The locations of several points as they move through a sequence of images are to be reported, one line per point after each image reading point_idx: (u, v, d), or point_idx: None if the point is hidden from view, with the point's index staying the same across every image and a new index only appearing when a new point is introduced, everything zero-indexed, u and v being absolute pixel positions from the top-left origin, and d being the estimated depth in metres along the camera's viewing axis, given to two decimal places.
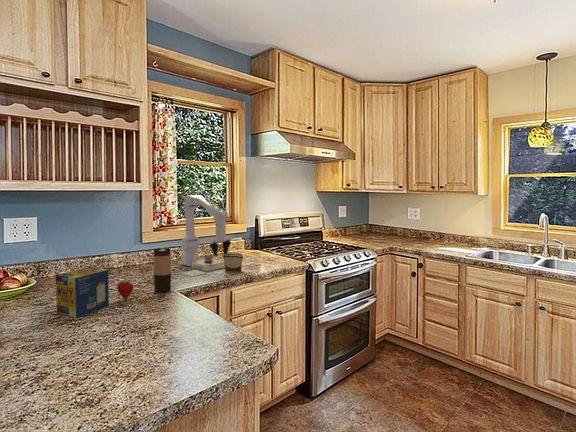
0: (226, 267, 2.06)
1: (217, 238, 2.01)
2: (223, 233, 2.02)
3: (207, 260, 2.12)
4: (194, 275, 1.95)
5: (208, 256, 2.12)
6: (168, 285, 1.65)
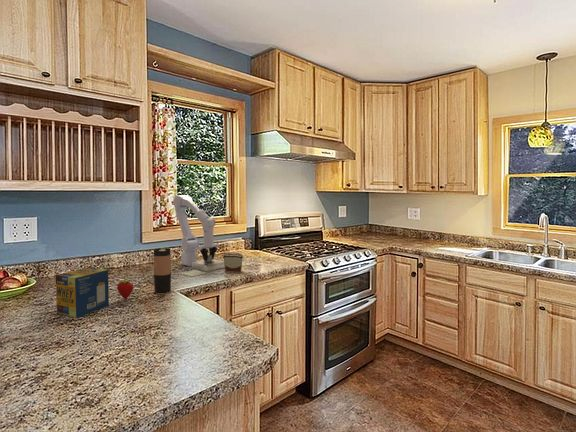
0: (226, 267, 2.06)
1: (205, 244, 2.11)
2: (211, 240, 2.11)
3: (207, 260, 2.12)
4: (194, 275, 1.95)
5: (208, 256, 2.12)
6: (168, 285, 1.65)
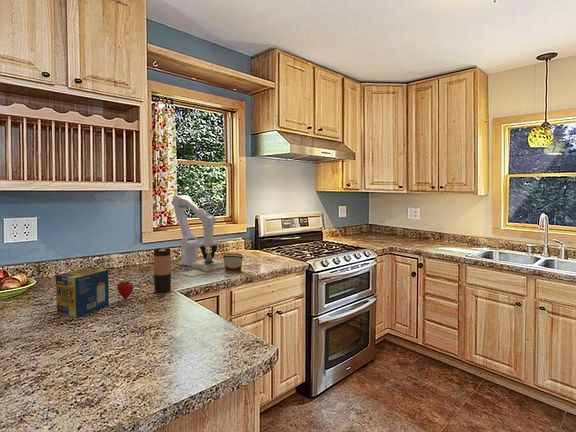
0: (226, 267, 2.06)
1: (204, 242, 2.12)
2: (209, 238, 2.11)
3: (206, 258, 2.13)
4: (194, 275, 1.95)
5: (207, 254, 2.12)
6: (168, 285, 1.65)
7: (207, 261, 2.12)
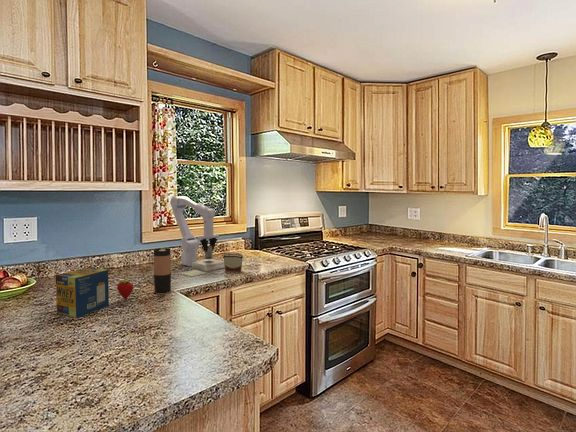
0: (226, 267, 2.06)
1: (205, 235, 2.11)
2: (211, 230, 2.11)
3: (207, 251, 2.12)
4: (194, 275, 1.95)
5: (208, 247, 2.12)
6: (168, 285, 1.65)
7: (209, 254, 2.12)
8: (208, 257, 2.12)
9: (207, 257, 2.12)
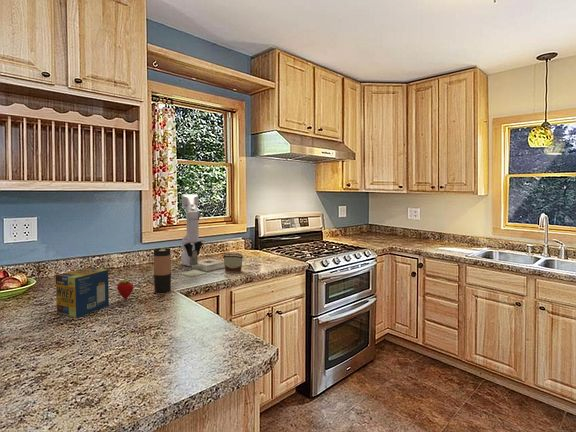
0: (226, 267, 2.06)
1: (189, 239, 1.96)
2: (196, 234, 1.96)
3: (191, 256, 1.97)
4: (194, 275, 1.95)
5: (192, 252, 1.97)
6: (168, 285, 1.65)
7: (193, 259, 1.97)
8: (193, 263, 1.97)
9: (191, 263, 1.97)
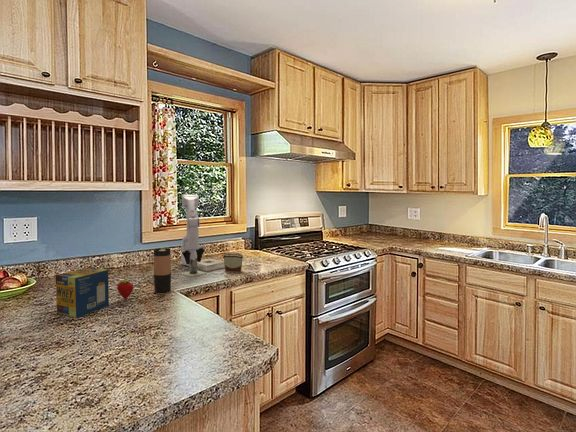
0: (226, 267, 2.06)
1: (189, 246, 1.96)
2: (196, 241, 1.96)
3: (191, 265, 1.97)
4: (194, 275, 1.95)
5: (192, 261, 1.97)
6: (168, 285, 1.65)
7: (193, 268, 1.98)
8: (192, 272, 1.98)
9: (191, 272, 1.98)
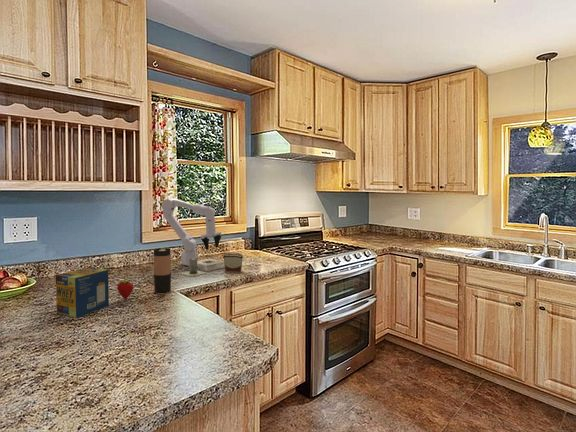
0: (226, 267, 2.06)
1: (208, 233, 2.19)
2: (213, 228, 2.19)
3: (191, 265, 1.97)
4: (194, 275, 1.95)
5: (192, 261, 1.97)
6: (168, 285, 1.65)
7: (193, 268, 1.98)
8: (192, 272, 1.98)
9: (191, 272, 1.98)
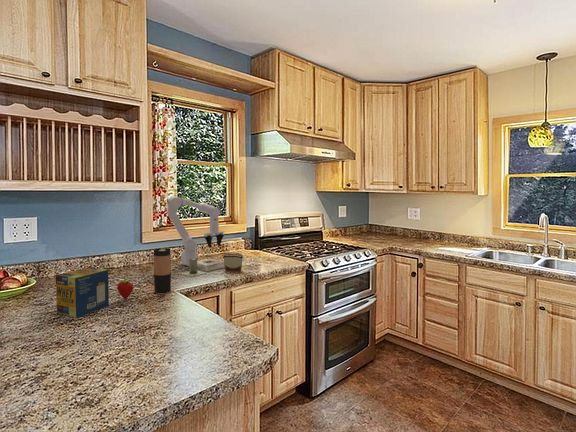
0: (226, 267, 2.06)
1: (211, 231, 2.26)
2: (216, 227, 2.26)
3: (191, 265, 1.97)
4: (194, 275, 1.95)
5: (192, 261, 1.97)
6: (168, 285, 1.65)
7: (193, 268, 1.98)
8: (192, 272, 1.98)
9: (191, 272, 1.98)
